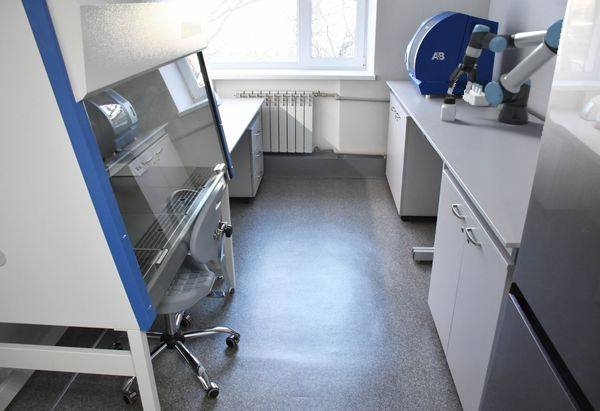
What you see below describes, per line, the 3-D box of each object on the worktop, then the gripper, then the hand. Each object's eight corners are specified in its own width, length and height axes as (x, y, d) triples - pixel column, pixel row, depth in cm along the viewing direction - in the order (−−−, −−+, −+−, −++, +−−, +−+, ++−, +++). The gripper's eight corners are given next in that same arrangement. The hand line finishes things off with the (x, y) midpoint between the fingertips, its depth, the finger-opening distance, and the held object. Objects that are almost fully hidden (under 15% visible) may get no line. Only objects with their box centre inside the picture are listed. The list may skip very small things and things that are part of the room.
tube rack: (488, 105, 299) (491, 87, 295) (473, 105, 299) (476, 87, 295) (476, 98, 319) (478, 81, 315) (462, 99, 319) (464, 81, 315)
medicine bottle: (454, 121, 262) (457, 98, 258) (441, 120, 264) (443, 98, 259) (453, 118, 269) (456, 96, 264) (440, 117, 270) (442, 95, 265)
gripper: (482, 53, 268) (468, 90, 279) (450, 52, 255) (437, 91, 266) (492, 58, 263) (477, 95, 274) (461, 56, 250) (446, 96, 261)
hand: (457, 93), depth 270 cm, fingers open, 13 cm apart
